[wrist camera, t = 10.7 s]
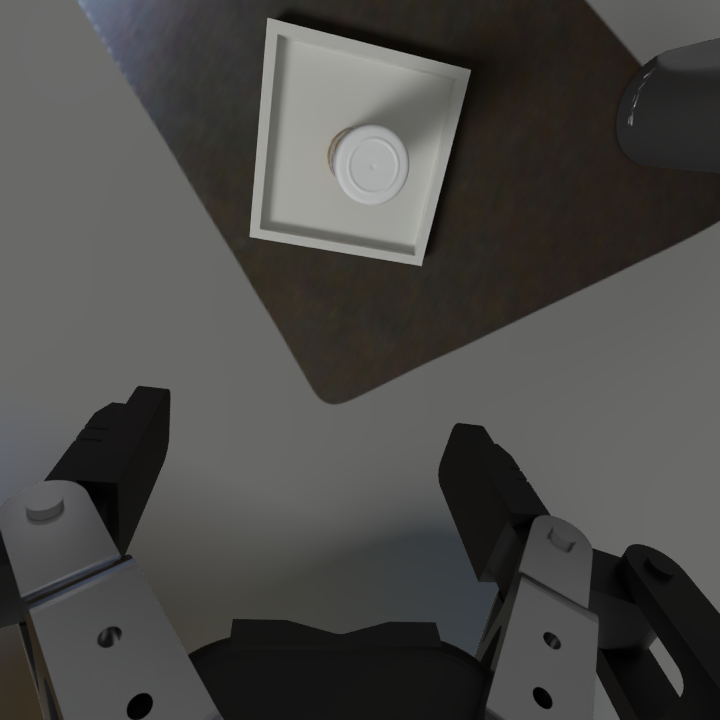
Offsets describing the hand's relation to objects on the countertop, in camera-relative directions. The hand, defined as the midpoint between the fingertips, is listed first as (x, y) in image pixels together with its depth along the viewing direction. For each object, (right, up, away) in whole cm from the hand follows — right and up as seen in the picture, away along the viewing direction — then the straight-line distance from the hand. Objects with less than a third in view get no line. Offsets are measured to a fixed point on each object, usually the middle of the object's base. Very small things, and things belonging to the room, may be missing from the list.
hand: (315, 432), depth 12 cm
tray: (+1, +20, +26) cm, 33 cm away
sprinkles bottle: (+1, +20, +26) cm, 33 cm away
